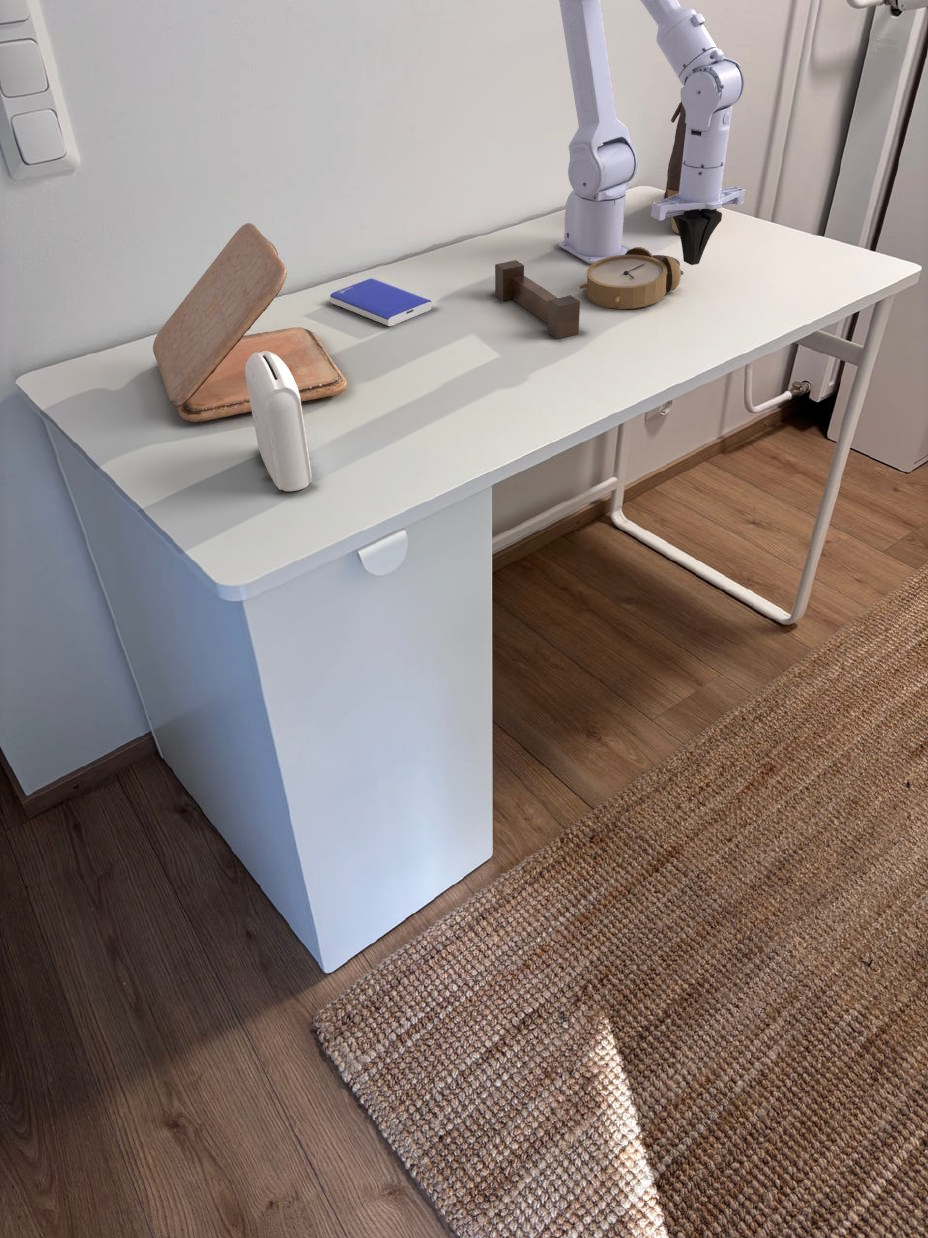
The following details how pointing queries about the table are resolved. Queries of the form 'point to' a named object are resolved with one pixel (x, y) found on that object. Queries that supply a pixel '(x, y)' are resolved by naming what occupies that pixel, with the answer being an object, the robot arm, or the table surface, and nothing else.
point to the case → (236, 335)
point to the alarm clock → (632, 279)
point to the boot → (676, 158)
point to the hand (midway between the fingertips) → (691, 262)
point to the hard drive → (380, 302)
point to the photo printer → (278, 421)
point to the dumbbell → (537, 299)
